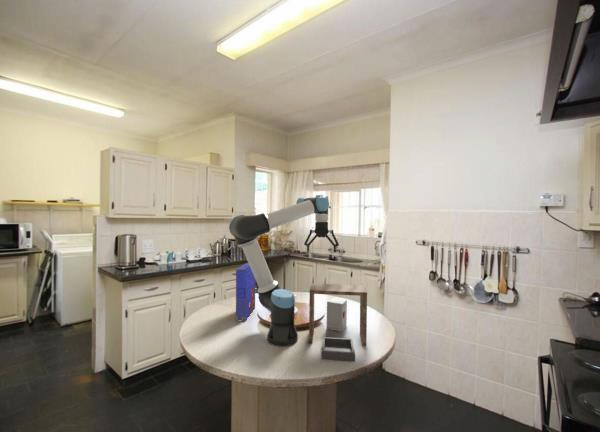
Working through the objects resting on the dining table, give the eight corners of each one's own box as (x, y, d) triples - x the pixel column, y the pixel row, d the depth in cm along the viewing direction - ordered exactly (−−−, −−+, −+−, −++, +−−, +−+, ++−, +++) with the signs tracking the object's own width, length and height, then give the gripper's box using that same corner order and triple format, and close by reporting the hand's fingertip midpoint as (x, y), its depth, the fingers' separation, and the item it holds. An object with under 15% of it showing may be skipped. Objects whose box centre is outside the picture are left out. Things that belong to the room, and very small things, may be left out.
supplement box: (342, 332, 149) (342, 304, 149) (326, 328, 153) (326, 301, 153) (347, 326, 157) (347, 299, 157) (331, 323, 161) (332, 297, 161)
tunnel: (309, 343, 136) (309, 290, 136) (310, 331, 150) (311, 283, 150) (366, 346, 133) (367, 292, 133) (362, 333, 147) (363, 285, 147)
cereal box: (246, 308, 185) (246, 262, 185) (255, 308, 185) (255, 262, 184) (235, 320, 163) (236, 269, 163) (245, 321, 163) (246, 269, 163)
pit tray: (321, 359, 121) (321, 351, 121) (322, 344, 135) (322, 337, 135) (354, 361, 120) (355, 353, 120) (352, 346, 134) (352, 338, 134)
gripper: (342, 221, 168) (342, 257, 168) (301, 221, 171) (300, 256, 171) (343, 221, 161) (343, 259, 161) (299, 221, 163) (299, 258, 163)
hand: (321, 257), depth 166 cm, fingers open, 13 cm apart
